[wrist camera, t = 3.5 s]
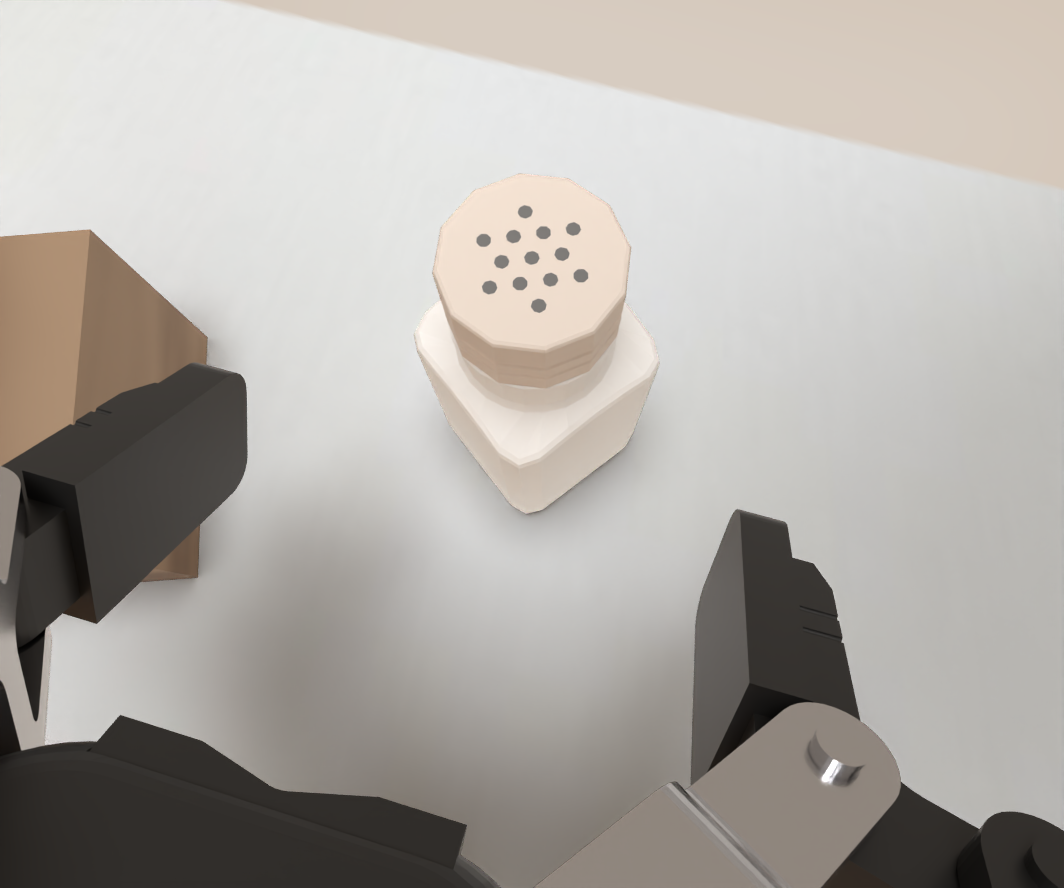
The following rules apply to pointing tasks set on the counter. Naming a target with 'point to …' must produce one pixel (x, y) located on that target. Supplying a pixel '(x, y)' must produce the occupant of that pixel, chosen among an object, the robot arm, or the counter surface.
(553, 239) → the pepper shaker
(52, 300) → the walnut block
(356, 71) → the counter surface
